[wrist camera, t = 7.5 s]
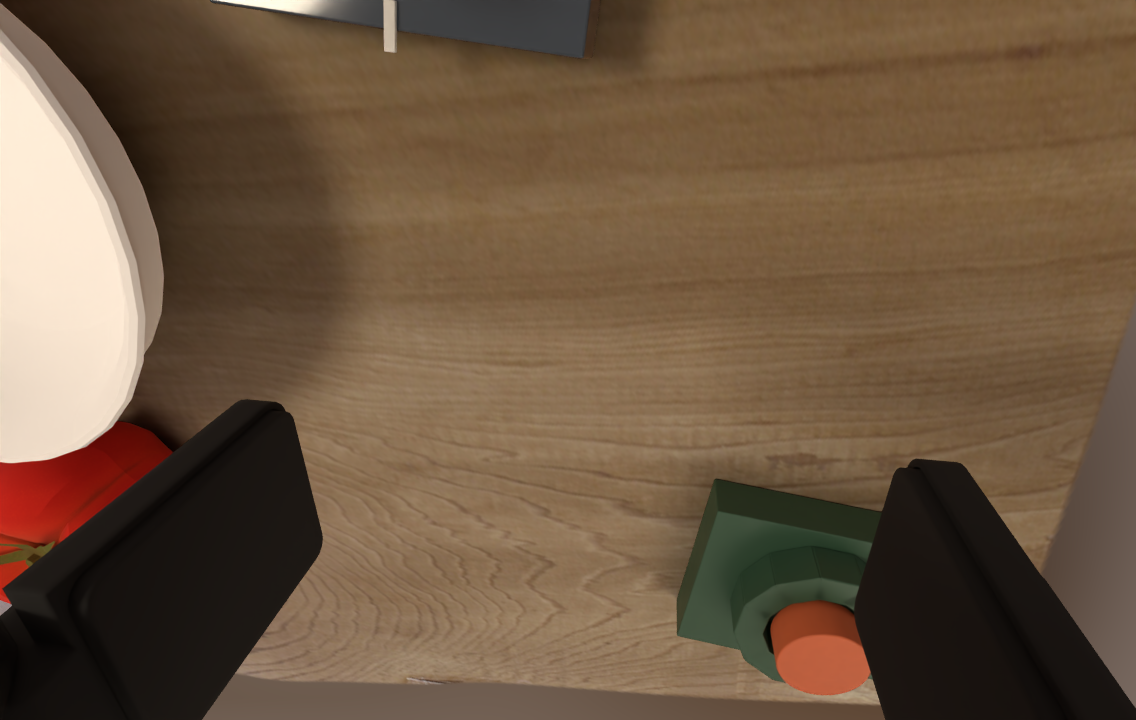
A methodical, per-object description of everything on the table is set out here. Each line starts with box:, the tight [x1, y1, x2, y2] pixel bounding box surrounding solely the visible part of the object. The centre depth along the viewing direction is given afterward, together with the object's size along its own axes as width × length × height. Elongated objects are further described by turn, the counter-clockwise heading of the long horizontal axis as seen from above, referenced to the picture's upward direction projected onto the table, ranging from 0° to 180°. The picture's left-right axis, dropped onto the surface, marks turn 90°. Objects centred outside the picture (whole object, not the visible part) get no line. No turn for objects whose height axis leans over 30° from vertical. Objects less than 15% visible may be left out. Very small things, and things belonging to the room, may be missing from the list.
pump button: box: [770, 600, 871, 695], centre depth 25 cm, size 4×4×2 cm
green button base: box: [677, 479, 882, 683], centre depth 27 cm, size 10×8×4 cm
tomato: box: [0, 421, 173, 604], centre depth 29 cm, size 9×9×8 cm
